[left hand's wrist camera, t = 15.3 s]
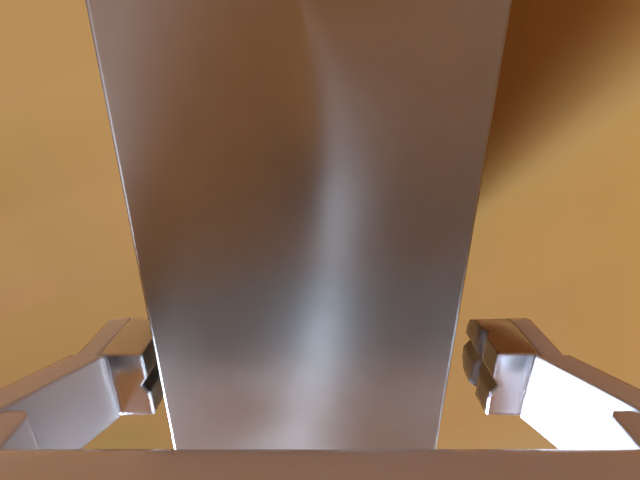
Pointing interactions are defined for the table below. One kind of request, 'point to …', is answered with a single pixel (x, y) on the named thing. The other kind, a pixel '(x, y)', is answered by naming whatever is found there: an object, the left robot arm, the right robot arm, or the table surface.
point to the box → (301, 206)
